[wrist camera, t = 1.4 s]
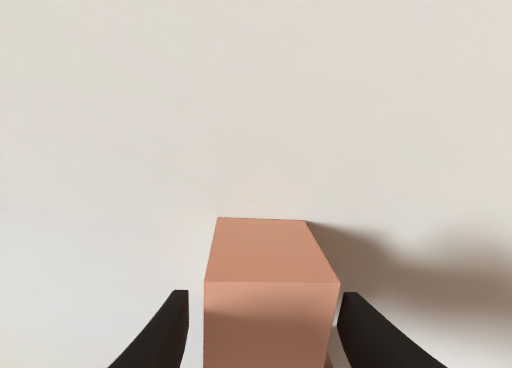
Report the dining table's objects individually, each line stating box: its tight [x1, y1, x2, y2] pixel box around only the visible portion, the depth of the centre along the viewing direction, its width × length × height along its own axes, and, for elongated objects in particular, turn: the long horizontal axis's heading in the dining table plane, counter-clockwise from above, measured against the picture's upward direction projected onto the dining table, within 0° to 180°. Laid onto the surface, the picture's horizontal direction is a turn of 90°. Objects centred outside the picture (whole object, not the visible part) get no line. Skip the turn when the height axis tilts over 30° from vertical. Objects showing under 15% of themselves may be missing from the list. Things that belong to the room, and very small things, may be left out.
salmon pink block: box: [203, 218, 341, 368], centre depth 12 cm, size 5×5×6 cm
